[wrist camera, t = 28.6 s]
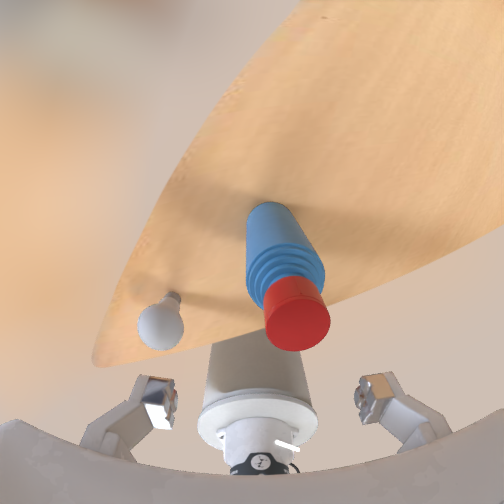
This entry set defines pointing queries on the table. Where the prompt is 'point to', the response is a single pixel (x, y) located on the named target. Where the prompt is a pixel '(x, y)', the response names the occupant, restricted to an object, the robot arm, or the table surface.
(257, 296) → the bottle
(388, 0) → the table surface
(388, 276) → the table surface
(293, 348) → the cap
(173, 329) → the lightbulb
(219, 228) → the table surface
